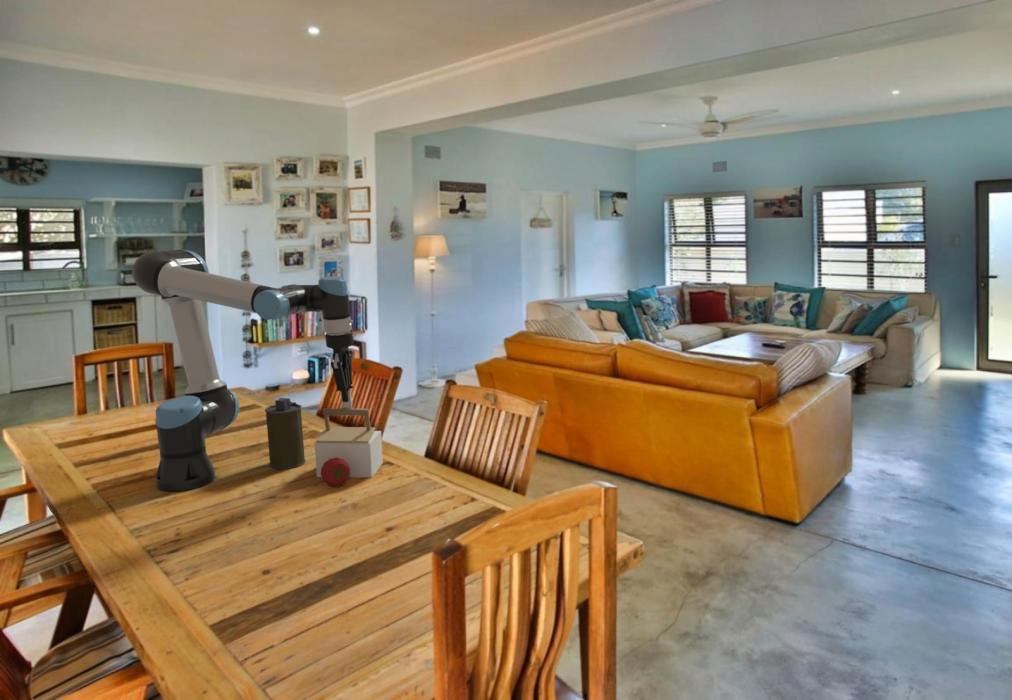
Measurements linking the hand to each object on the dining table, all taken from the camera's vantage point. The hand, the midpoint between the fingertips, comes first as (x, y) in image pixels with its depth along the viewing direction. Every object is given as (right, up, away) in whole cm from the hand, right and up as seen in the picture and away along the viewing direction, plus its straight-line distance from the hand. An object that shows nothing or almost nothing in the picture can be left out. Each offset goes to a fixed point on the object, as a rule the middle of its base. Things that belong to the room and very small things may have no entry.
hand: (347, 411), depth 193 cm
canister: (-20, -17, +9) cm, 28 cm away
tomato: (-1, -20, -9) cm, 22 cm away
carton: (0, -17, +3) cm, 18 cm away
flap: (0, -7, -1) cm, 7 cm away
